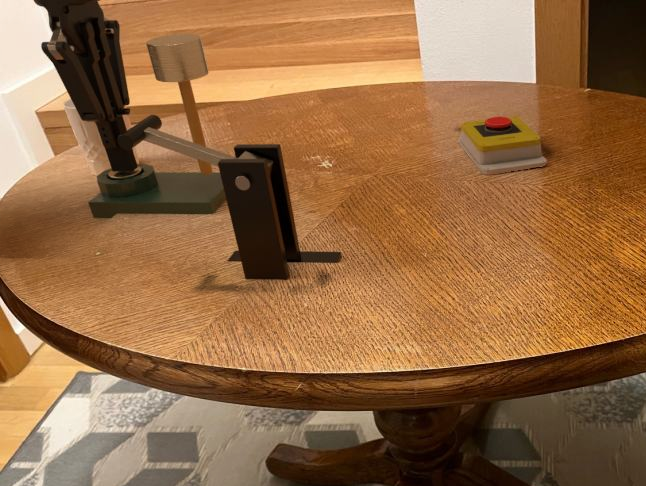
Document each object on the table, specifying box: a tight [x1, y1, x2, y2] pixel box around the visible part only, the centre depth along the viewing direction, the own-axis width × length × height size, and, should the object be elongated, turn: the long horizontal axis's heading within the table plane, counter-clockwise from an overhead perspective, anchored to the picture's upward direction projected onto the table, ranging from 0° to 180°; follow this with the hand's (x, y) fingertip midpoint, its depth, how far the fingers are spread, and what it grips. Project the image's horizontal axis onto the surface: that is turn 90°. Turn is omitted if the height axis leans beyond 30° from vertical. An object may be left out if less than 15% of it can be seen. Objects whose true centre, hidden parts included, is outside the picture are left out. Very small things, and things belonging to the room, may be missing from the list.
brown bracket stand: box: [217, 143, 343, 281], centre depth 73 cm, size 12×9×14 cm
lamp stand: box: [145, 33, 213, 175], centre depth 88 cm, size 6×6×16 cm
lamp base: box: [87, 163, 227, 219], centre depth 94 cm, size 16×10×4 cm, turn 84°
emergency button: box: [457, 115, 548, 176], centre depth 104 cm, size 9×4×15 cm
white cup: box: [62, 98, 140, 177], centre depth 104 cm, size 8×8×10 cm
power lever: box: [118, 114, 273, 176], centre depth 69 cm, size 13×6×2 cm, turn 83°
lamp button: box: [108, 167, 142, 180], centre depth 94 cm, size 4×4×2 cm
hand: (125, 169), depth 94 cm, fingers closed
